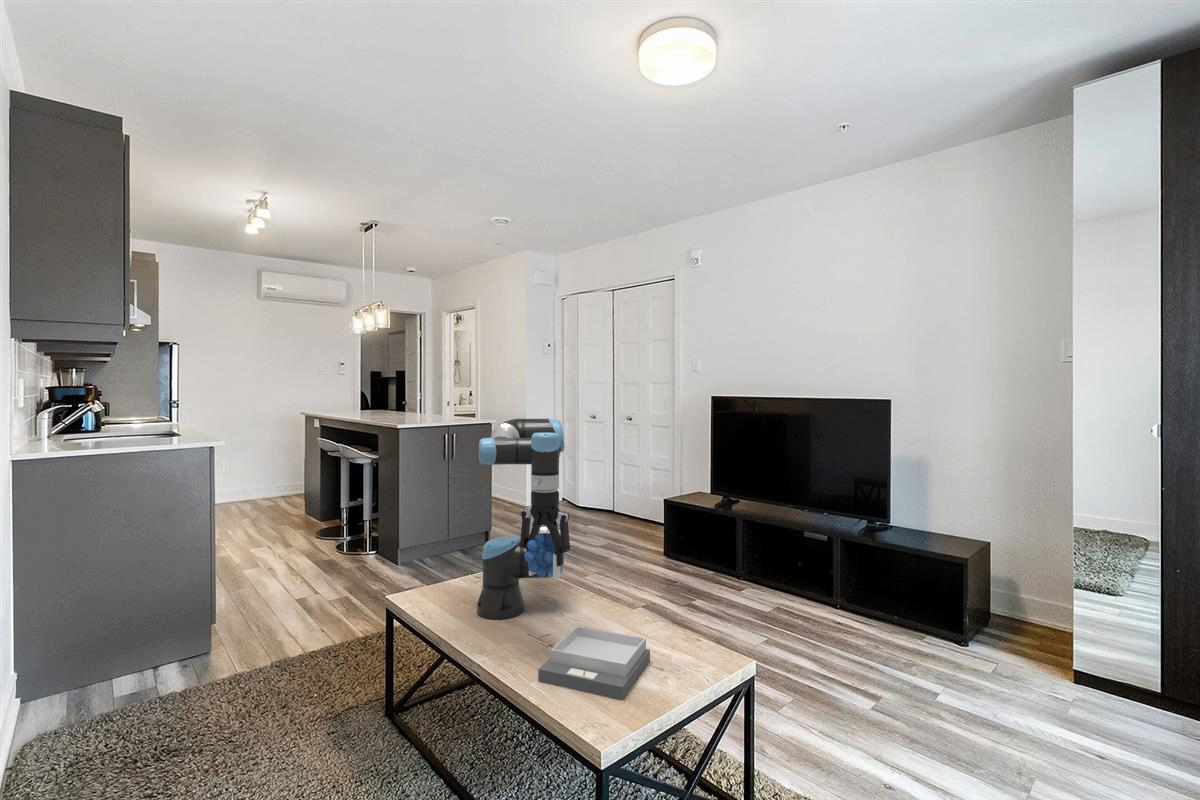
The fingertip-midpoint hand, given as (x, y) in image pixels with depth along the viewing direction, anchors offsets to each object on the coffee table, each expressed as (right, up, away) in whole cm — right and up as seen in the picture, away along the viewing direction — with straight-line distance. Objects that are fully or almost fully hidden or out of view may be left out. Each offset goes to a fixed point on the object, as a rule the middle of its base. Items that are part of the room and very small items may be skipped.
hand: (544, 575), depth 154 cm
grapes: (0, -1, 0) cm, 1 cm away
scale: (+14, -22, -8) cm, 27 cm away
